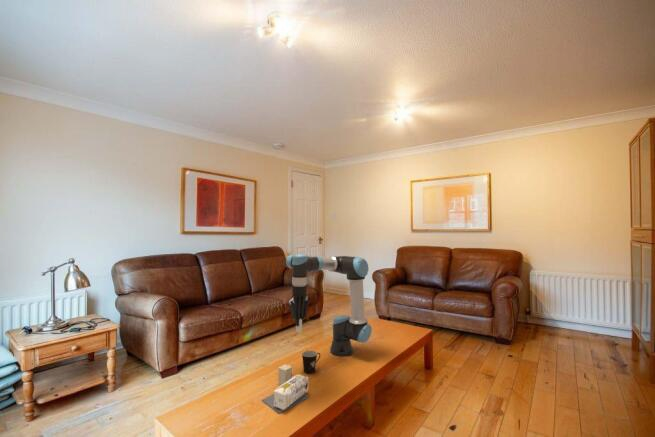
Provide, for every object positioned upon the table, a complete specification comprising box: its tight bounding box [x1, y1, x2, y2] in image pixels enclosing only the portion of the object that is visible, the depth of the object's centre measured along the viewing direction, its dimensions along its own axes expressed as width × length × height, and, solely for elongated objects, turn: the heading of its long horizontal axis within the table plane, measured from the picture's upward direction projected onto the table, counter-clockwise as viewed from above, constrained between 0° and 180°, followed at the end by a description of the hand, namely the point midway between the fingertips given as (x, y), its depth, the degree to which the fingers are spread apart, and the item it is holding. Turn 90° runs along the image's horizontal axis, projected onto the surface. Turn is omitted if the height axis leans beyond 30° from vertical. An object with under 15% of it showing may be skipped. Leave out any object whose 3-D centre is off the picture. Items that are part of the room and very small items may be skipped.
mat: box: [261, 393, 310, 415], centre depth 145 cm, size 18×14×1 cm
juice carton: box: [273, 373, 309, 411], centre depth 143 cm, size 8×9×19 cm
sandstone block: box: [277, 363, 293, 387], centre depth 158 cm, size 5×5×9 cm
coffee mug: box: [301, 350, 321, 375], centre depth 173 cm, size 12×9×10 cm
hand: (299, 331), depth 151 cm, fingers closed
